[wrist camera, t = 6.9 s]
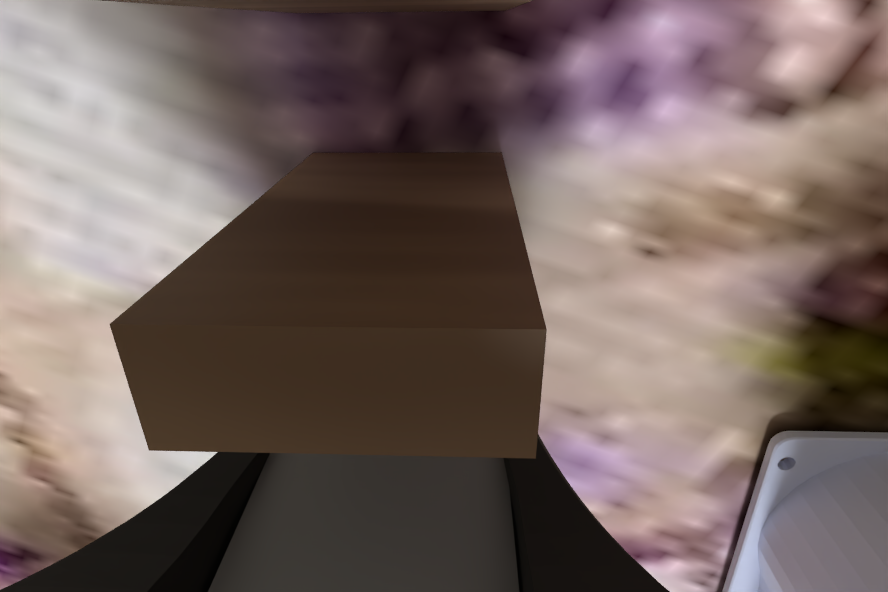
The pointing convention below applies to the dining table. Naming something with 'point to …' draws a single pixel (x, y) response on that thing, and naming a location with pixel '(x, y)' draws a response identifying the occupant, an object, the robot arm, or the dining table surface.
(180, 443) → the domino
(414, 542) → the domino
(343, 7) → the domino
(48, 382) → the dining table surface
